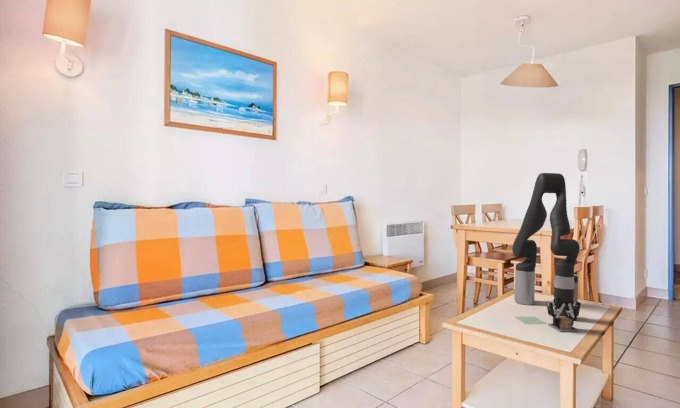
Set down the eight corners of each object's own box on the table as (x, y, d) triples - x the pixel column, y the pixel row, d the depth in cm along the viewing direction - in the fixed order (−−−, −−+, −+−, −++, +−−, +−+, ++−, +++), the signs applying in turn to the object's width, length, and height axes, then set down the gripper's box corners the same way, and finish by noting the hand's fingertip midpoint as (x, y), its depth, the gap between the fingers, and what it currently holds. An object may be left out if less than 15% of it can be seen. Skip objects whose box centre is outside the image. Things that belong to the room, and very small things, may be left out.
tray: (548, 326, 165) (548, 323, 165) (565, 326, 166) (565, 323, 166) (560, 332, 157) (560, 330, 157) (578, 332, 158) (578, 329, 158)
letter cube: (554, 326, 164) (554, 316, 163) (564, 326, 164) (564, 315, 164) (561, 330, 159) (561, 319, 159) (571, 330, 159) (572, 319, 159)
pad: (513, 317, 177) (513, 316, 177) (534, 317, 177) (534, 316, 177) (525, 325, 167) (525, 324, 167) (547, 324, 167) (547, 323, 167)
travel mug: (567, 322, 170) (568, 277, 170) (553, 317, 178) (554, 274, 177) (581, 321, 173) (582, 277, 172) (567, 315, 180) (568, 273, 179)
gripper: (574, 284, 165) (573, 322, 166) (542, 284, 164) (541, 323, 165) (586, 288, 158) (585, 328, 158) (553, 288, 157) (552, 329, 157)
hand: (563, 325), depth 161 cm, fingers open, 5 cm apart
